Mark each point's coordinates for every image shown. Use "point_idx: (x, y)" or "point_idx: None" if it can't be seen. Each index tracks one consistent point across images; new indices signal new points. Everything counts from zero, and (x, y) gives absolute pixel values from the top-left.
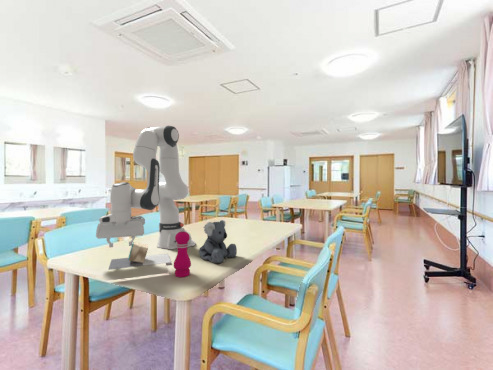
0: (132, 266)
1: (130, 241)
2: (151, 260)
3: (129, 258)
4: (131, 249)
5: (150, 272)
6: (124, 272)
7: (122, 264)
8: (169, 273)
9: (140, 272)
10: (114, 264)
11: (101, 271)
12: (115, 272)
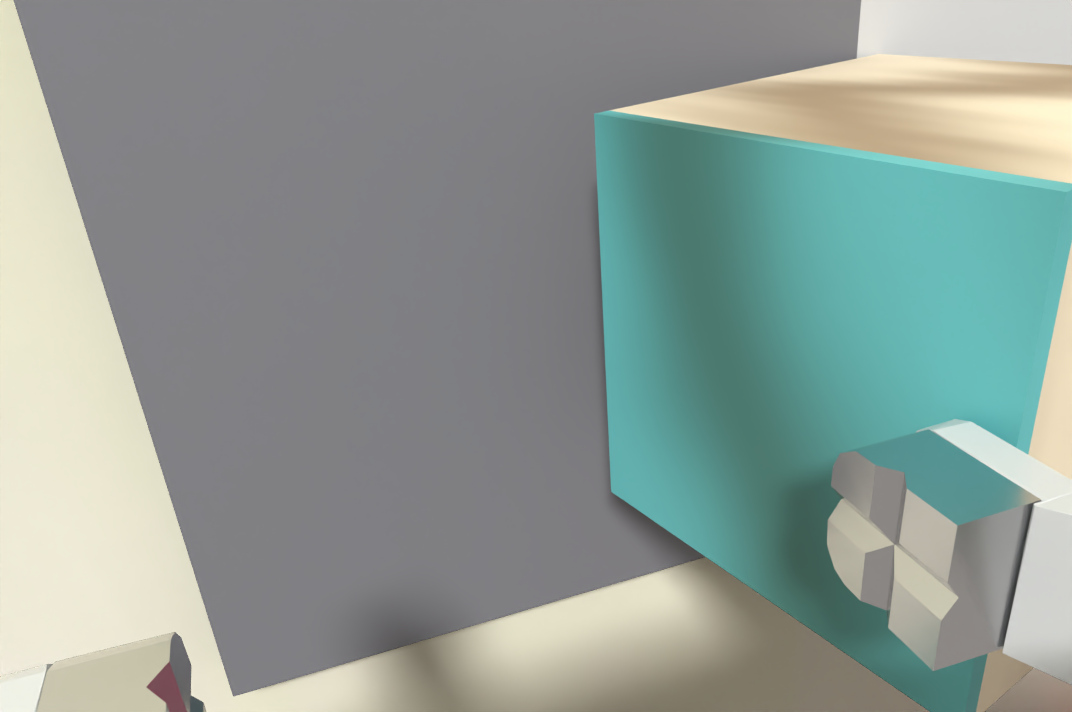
0: (660, 557)
1: (1012, 524)
2: None
3: (658, 509)
4: (838, 645)
5: (867, 677)
6: (532, 679)
7: (457, 431)
8: (1039, 702)
9: (752, 677)
10: (265, 410)
11: (68, 636)
12: (381, 681)
